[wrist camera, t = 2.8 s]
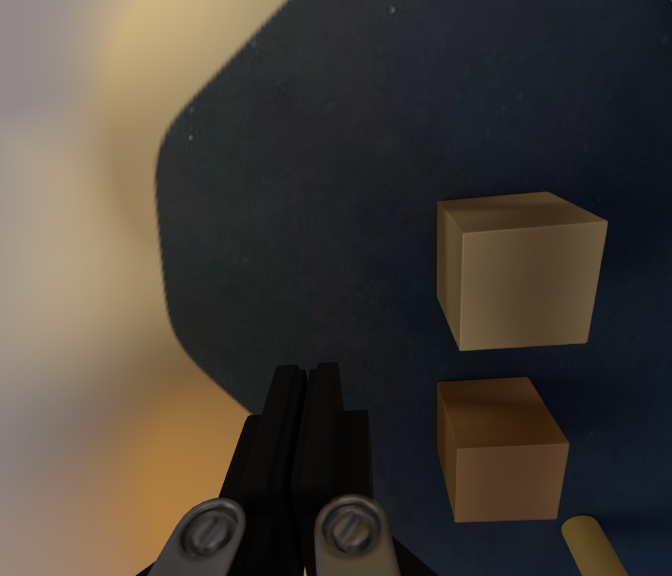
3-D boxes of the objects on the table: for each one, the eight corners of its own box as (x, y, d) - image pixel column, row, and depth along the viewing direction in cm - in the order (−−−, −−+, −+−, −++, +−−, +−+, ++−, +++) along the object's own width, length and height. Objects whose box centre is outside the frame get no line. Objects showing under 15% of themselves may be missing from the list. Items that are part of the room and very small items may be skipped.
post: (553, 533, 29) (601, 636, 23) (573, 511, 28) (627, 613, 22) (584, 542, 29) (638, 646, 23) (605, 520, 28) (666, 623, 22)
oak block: (436, 447, 26) (454, 522, 21) (436, 381, 24) (457, 449, 19) (520, 443, 25) (557, 519, 21) (527, 376, 23) (570, 444, 19)
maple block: (436, 297, 22) (459, 351, 17) (436, 201, 19) (462, 233, 15) (537, 290, 21) (587, 343, 17) (548, 191, 19) (609, 221, 15)
